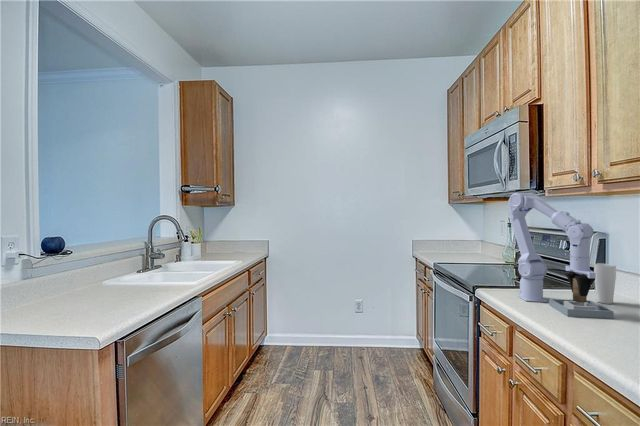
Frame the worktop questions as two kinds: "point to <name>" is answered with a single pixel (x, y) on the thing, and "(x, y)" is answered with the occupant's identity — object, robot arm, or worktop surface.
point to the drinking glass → (605, 282)
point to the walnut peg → (577, 293)
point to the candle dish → (581, 309)
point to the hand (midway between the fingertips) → (579, 294)
